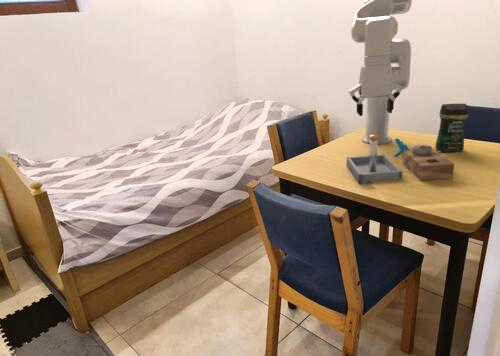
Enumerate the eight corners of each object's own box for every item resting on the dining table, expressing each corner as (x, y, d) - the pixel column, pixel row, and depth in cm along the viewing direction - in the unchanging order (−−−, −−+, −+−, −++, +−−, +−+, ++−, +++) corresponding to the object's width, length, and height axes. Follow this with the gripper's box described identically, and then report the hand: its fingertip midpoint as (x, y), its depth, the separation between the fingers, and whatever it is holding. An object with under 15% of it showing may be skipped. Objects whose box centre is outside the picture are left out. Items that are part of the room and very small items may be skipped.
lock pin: (367, 169, 131) (368, 134, 126) (375, 168, 131) (377, 133, 126) (369, 172, 128) (370, 137, 123) (378, 171, 128) (379, 136, 123)
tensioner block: (402, 166, 133) (403, 143, 130) (430, 164, 132) (432, 141, 129) (420, 183, 118) (423, 158, 115) (452, 181, 118) (455, 155, 114)
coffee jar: (438, 154, 142) (443, 106, 135) (433, 147, 149) (438, 102, 142) (465, 153, 139) (472, 105, 132) (459, 147, 146) (465, 101, 139)
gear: (415, 159, 134) (396, 139, 136) (402, 169, 137) (383, 149, 139) (417, 153, 144) (399, 135, 145) (404, 163, 147) (387, 144, 148)
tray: (346, 165, 138) (346, 157, 137) (383, 163, 138) (384, 154, 137) (359, 184, 122) (359, 174, 120) (401, 181, 121) (402, 171, 120)
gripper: (400, 56, 119) (396, 108, 126) (346, 62, 119) (346, 113, 126) (409, 59, 112) (405, 113, 119) (352, 65, 113) (351, 119, 120)
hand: (374, 113), depth 123 cm, fingers open, 9 cm apart
